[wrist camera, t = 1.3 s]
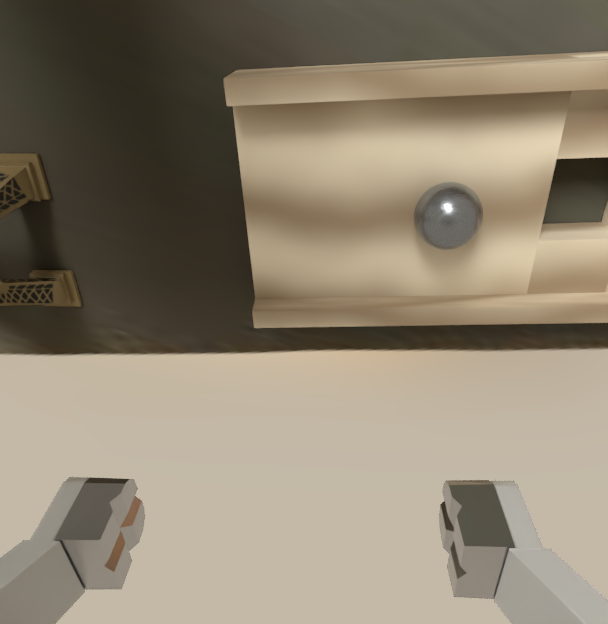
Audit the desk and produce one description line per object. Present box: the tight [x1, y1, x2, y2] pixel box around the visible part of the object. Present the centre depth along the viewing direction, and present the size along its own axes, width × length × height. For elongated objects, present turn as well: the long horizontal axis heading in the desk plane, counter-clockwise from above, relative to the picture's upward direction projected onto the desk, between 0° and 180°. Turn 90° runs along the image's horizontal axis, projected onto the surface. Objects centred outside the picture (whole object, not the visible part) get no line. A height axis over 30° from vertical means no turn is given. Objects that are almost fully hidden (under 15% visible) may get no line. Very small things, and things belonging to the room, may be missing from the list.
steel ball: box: [414, 182, 483, 250], centre depth 25 cm, size 4×4×4 cm
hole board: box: [223, 51, 608, 328], centre depth 27 cm, size 14×25×6 cm, turn 92°
